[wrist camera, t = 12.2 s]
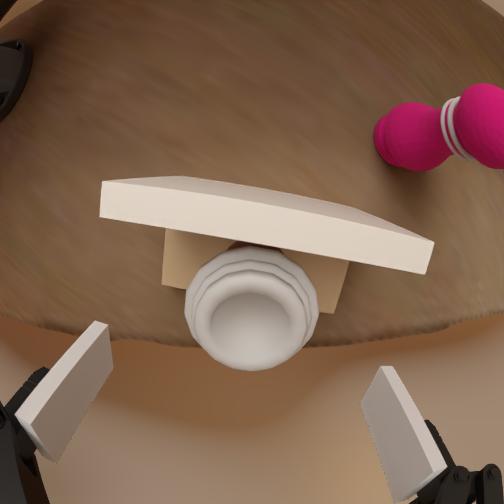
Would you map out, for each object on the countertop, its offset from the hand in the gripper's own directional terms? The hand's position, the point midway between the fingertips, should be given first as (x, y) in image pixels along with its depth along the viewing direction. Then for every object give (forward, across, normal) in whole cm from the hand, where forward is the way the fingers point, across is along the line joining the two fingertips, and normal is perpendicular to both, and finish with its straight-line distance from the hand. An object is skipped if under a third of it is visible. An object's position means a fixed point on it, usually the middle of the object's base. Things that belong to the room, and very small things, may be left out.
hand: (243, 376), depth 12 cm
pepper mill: (+20, +14, +16) cm, 29 cm away
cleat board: (+20, +1, +1) cm, 20 cm away
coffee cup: (+17, 0, 0) cm, 17 cm away
